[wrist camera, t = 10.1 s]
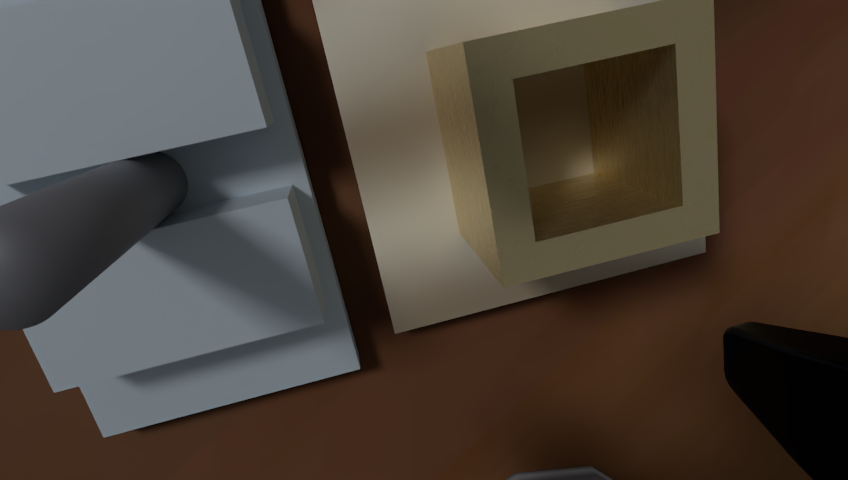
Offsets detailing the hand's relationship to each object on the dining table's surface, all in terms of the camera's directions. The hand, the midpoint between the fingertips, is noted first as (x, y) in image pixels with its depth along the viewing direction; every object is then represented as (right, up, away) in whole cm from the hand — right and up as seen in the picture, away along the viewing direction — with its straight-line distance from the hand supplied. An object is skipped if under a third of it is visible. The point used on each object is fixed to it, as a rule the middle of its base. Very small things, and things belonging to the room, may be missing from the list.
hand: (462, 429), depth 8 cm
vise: (-9, +6, +9) cm, 14 cm away
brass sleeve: (+3, +7, +10) cm, 12 cm away
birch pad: (+3, +7, +11) cm, 13 cm away
